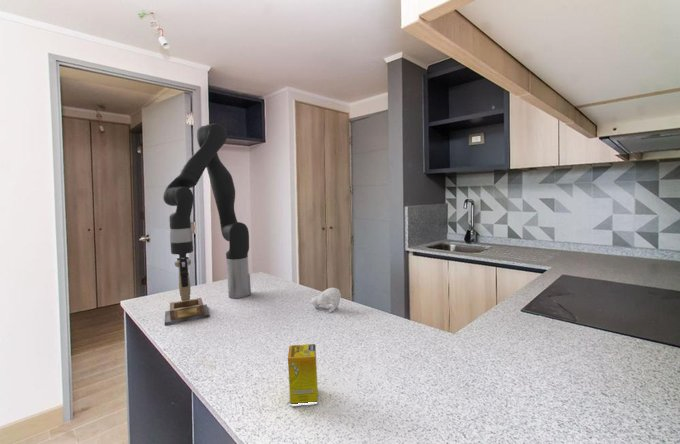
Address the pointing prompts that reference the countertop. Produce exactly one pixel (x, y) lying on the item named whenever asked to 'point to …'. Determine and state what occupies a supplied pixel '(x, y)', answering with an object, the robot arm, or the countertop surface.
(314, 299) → the white animal figurine
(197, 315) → the socket
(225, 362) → the countertop surface
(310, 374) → the supplement box
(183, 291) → the handle
